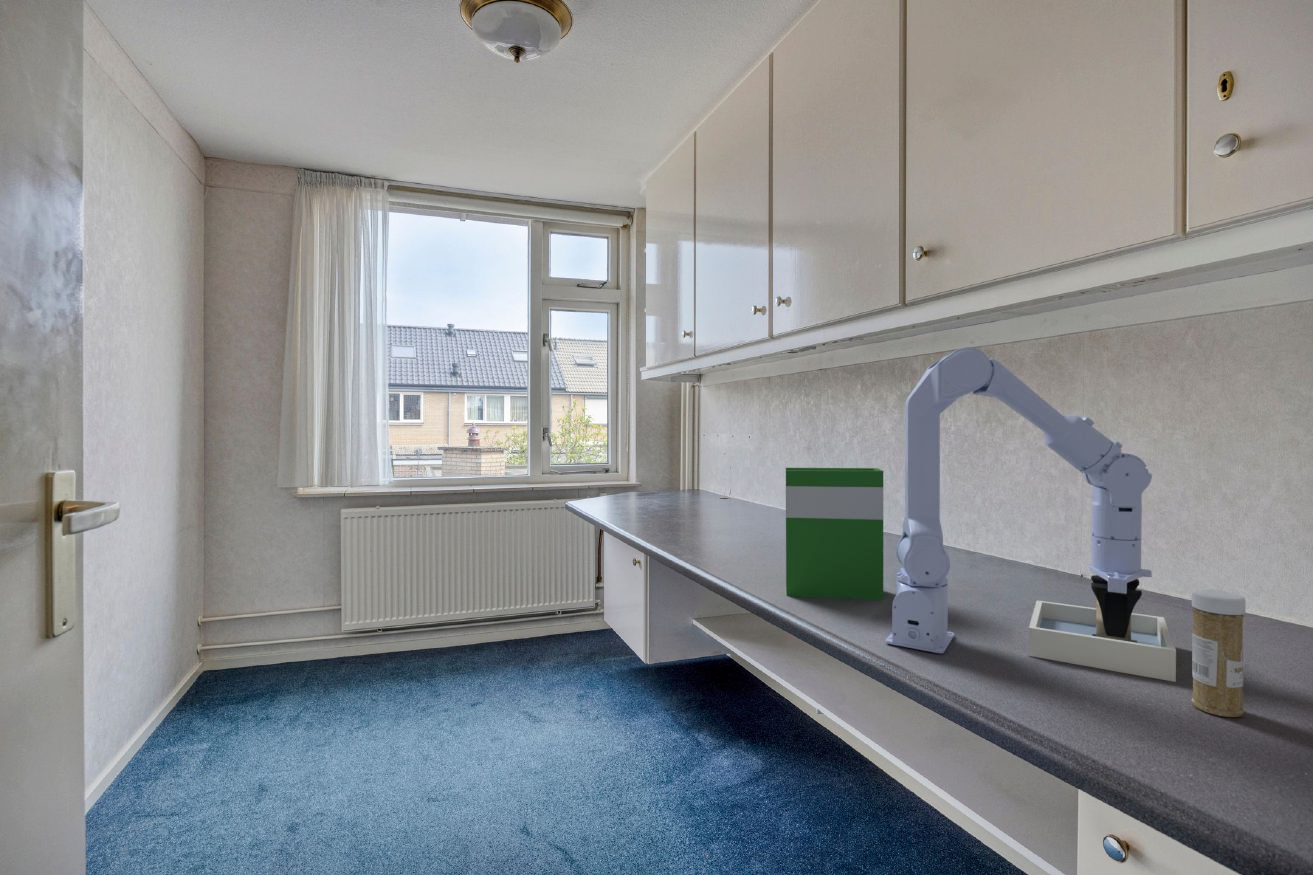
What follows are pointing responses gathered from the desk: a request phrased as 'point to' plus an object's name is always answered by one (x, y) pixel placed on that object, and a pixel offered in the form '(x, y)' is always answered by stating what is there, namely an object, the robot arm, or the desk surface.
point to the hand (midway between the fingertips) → (1114, 631)
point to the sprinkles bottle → (1218, 652)
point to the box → (1101, 641)
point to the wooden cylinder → (1101, 631)
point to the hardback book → (834, 532)
